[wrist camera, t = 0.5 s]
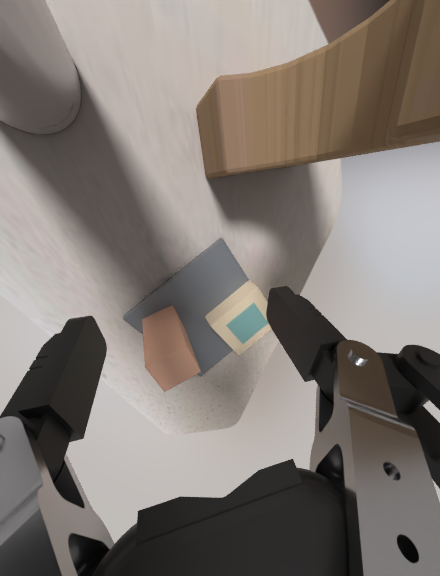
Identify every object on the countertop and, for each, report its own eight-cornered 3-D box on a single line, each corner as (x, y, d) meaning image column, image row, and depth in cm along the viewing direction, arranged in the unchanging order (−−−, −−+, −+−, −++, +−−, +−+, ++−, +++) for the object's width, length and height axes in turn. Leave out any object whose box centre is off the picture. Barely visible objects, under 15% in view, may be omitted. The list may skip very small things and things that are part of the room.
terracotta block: (156, 341, 33) (164, 391, 25) (142, 319, 30) (145, 367, 22) (184, 327, 34) (200, 371, 26) (172, 304, 31) (186, 345, 23)
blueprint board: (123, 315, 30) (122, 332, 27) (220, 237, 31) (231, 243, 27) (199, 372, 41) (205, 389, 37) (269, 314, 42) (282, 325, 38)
